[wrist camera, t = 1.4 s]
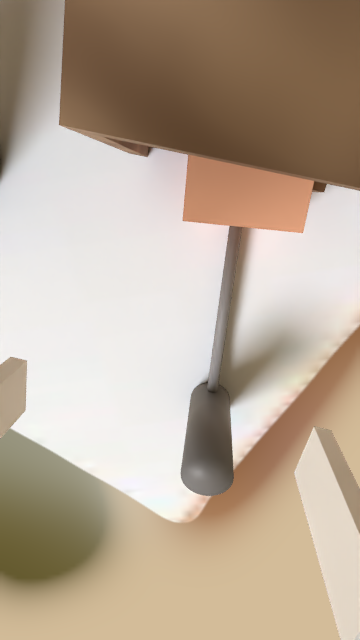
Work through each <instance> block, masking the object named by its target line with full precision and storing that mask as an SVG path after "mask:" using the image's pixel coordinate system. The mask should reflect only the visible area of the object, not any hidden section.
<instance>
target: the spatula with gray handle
mask: <svg viewBox="0 0 360 640" xmlns="http://www.w3.org/2000/svg"><path fill="white" fill-rule="evenodd" d="M313 184H314V181H312V180H307V179H302V178H297V177H293V176H288V175H283V174H278V173H274V172H269V171H264V170H259V169H255V168H250V167H245V166H240V165H236V164H231V163H226V162H221V161H216V160H212V159H207V158H202V157H197V156H193V155H188V165H187V176H186V188H185V199H184V211H183V221H188V222H198V223H208V224H218V225H228V226H230V227H229V234H228V241H227V248H226V256H225V263H224V270H223V278H222V285H221V292H220V299H219V307H218V314H217V321H216V328H215V336H214V343H213V350H212V357H211V365H210V372H209V379H208V383H203V384H201V385H199V386H197V387H196V388H195V389H194V390H193V392H192V394H191V400H190V407H189V415H188V422H187V430H186V437H185V445H184V452H183V460H182V467H181V479H182V481H183V483H184V484H185V486H186V487H187V488H188V489H190V490H191V491H193V492H195V493H197V494H200V495H205V496H213V495H218V494H221V493H223V492H225V491H226V490H228V489H229V488H230V487H231V485H232V483H233V479H234V474H233V455H232V436H231V417H230V399H229V394H228V392H227V391H226V389H225V388H223V387H222V386H220V385H218V383H219V376H220V369H221V363H222V356H223V350H224V343H225V336H226V330H227V323H228V317H229V310H230V303H231V297H232V290H233V284H234V277H235V270H236V264H237V257H238V251H239V244H240V237H241V231H242V227H248V228H258V229H268V230H278V231H288V232H298V233H303V230H304V226H305V221H306V216H307V212H308V207H309V203H310V198H311V194H312V189H313Z"/></svg>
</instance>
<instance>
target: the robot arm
mask: <svg viewBox="0 0 360 640" xmlns="http://www.w3.org/2000/svg"><path fill="white" fill-rule="evenodd" d="M26 376H27V361H26V360H22V359H17V358H13V357H10V358H9V359H7V360H6V361H5V362H4V363H2V364H1V365H0V438H1V437H2V436H3V435H4V434H5V433H6V432H7V431H8V430H9V428H10V427H11V426H12V425H13V424H14V423H15V422H16V420H17V419H18V418H19V417H20V416H21V415H22V414H23V413H24V411H25V408H26ZM294 474H295V478H296V481H297V485H298V488H299V492H300V496H301V499H302V502H303V507H304V510H305V513H306V517H307V521H308V525H309V528H310V531H311V535H312V539H313V542H314V546H315V550H316V553H317V557H318V560H319V564H320V567H321V571H322V574H323V578H324V582H325V585H326V589H327V593H328V596H329V600H330V603H331V607H332V610H333V614H334V617H335V621H336V625H337V628H338V632H339V635H340V639H341V640H360V489H359V486H358V484H357V482H356V480H355V478H354V476H353V474H352V472H351V470H350V468H349V466H348V464H347V462H346V460H345V458H344V456H343V454H342V452H341V450H340V447H339V445H338V443H337V441H336V439H335V437H334V435H333V433H332V431H331V430H328V429H323V428H319V427H314V428H313V430H312V432H311V435H310V437H309V439H308V442H307V444H306V446H305V449H304V451H303V453H302V456H301V458H300V461H299V463H298V465H297V467H296V470H295V472H294Z"/></svg>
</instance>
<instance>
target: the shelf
mask: <svg viewBox="0 0 360 640" xmlns="http://www.w3.org/2000/svg"><path fill="white" fill-rule="evenodd" d="M59 125H61V126H63V127H66V128H68V129H71V130H73V131H76V132H78V133H81V134H83V135H85V136H88V137H90V138H93V139H95V140H98V141H100V142H103V143H105V144H108V145H110V146H113V147H115V148H118V149H120V150H123V151H125V152H128V153H131V154H136V155H140V156H145V157H147V156H148V149H149V146H150V147H155V148H159V149H164V150H169V151H174V152H178V153H183V154H188V155H193V156H197V157H202V158H207V159H212V160H216V161H221V162H226V163H231V164H236V165H240V166H245V167H250V168H255V169H259V170H264V171H269V172H274V173H278V174H283V175H288V176H293V177H297V178H302V179H307V180H312V181H314V184H313V189H312V192H324V190H325V187H326V184H331V185H336V186H340V187H345V188H350V189H355V190H359V191H360V0H65V15H64V35H63V56H62V76H61V97H60V117H59Z"/></svg>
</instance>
